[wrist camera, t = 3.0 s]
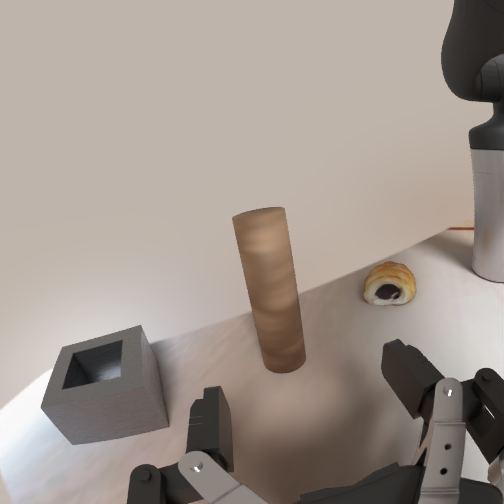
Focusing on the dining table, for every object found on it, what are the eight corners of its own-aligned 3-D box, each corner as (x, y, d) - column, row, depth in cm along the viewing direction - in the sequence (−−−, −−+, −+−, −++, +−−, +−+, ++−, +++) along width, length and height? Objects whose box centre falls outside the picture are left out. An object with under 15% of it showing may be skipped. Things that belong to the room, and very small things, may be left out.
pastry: (372, 274, 38) (371, 250, 37) (414, 275, 34) (415, 250, 33) (361, 307, 30) (361, 278, 29) (415, 309, 27) (417, 280, 26)
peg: (309, 346, 25) (289, 205, 21) (301, 374, 22) (276, 215, 18) (271, 345, 27) (243, 211, 23) (258, 371, 23) (223, 222, 19)
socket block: (157, 362, 27) (140, 324, 26) (169, 426, 18) (143, 385, 16) (82, 381, 24) (62, 347, 22) (72, 444, 15) (40, 407, 13)
